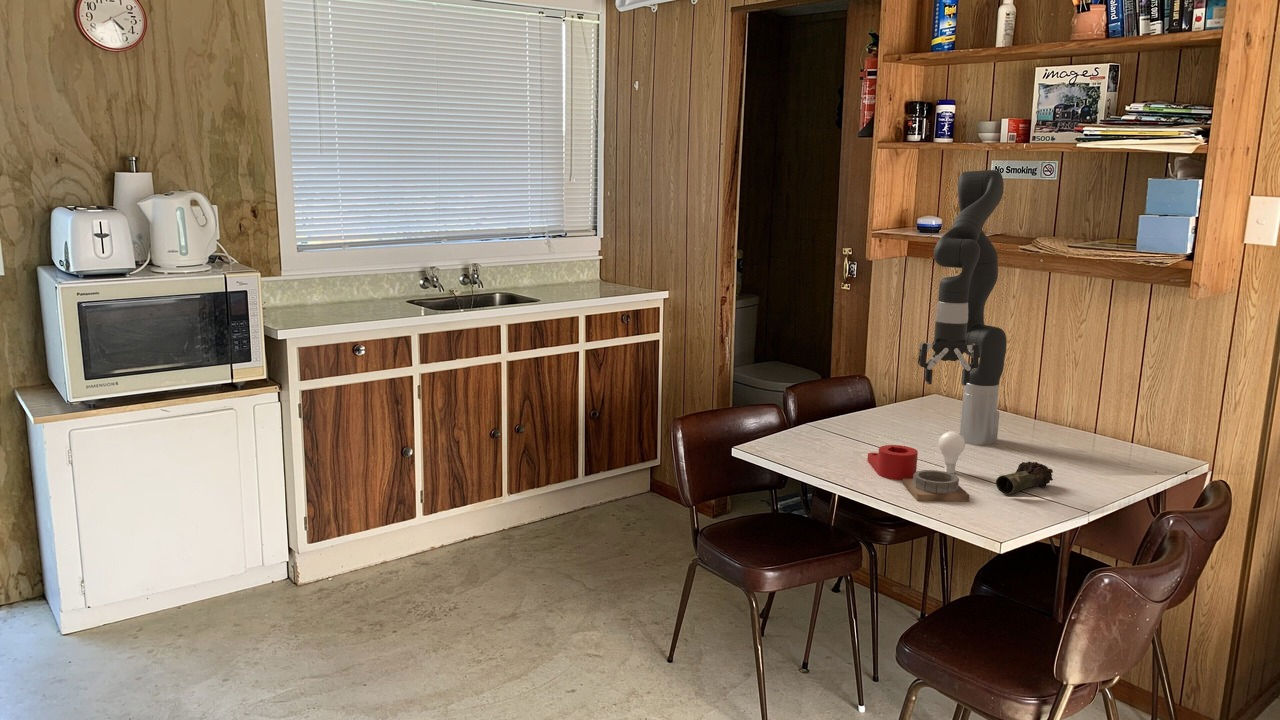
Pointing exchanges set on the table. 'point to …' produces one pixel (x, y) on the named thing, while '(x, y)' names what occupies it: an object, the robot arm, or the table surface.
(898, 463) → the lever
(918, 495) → the socket board
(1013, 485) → the vacuum brush nozzle
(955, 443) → the lightbulb
